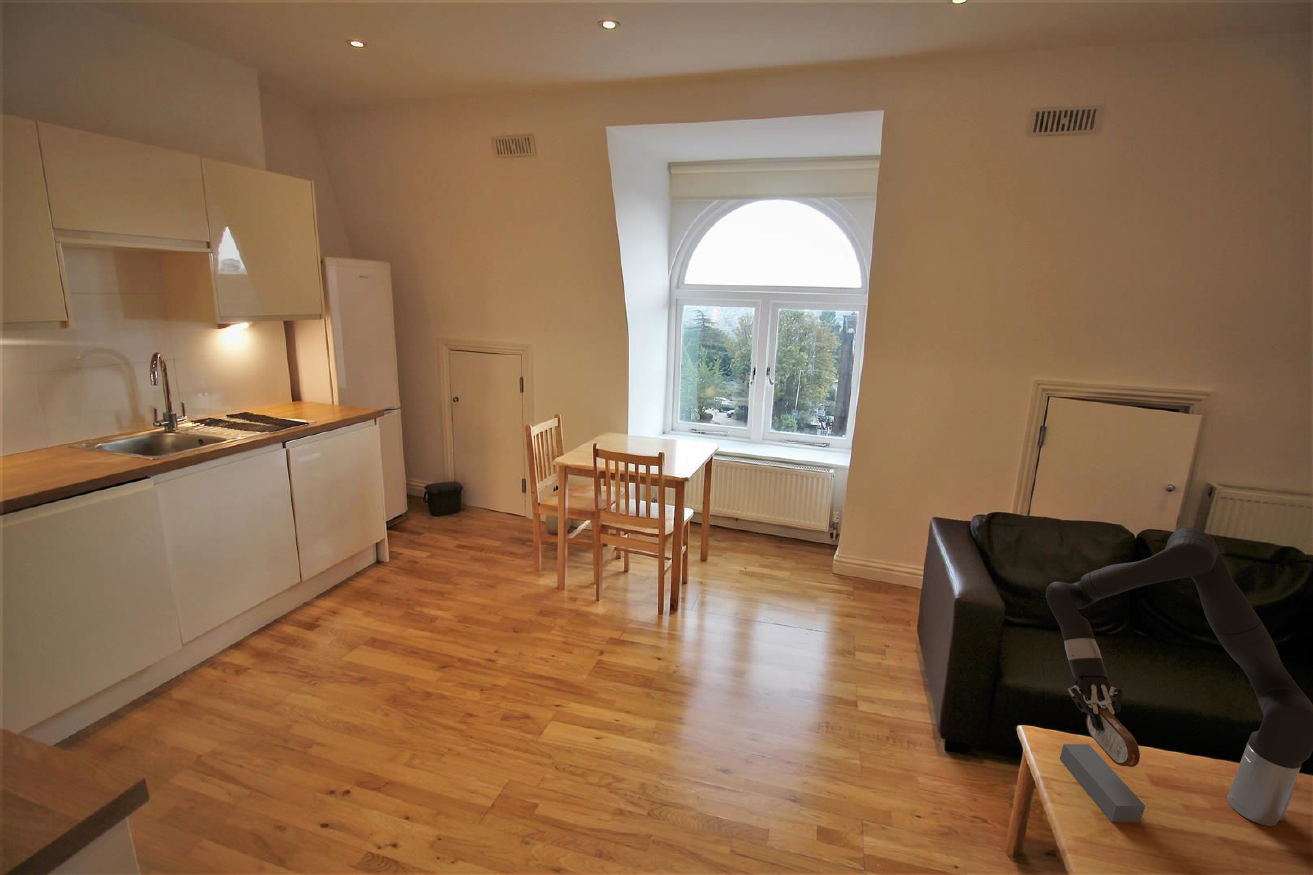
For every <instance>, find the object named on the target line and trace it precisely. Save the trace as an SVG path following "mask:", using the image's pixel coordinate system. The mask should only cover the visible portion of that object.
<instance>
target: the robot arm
mask: <svg viewBox="0 0 1313 875" xmlns="http://www.w3.org/2000/svg"><path fill="white" fill-rule="evenodd" d="M1186 578H1187V579H1188V578H1191V580H1192V581H1193V583H1194V585H1195V587H1196V590H1197V592H1198V596H1199V599H1200V602H1201V606H1202V609H1203V611H1204V615H1205V619H1206V620H1207V622H1208V624H1209V626H1210V628H1211V630H1212V631H1213V633H1214V635H1215V636H1216V638H1217V640H1218V641H1219V643H1220V644H1221V646H1222V647H1223V649H1224V650H1225V652H1227V654H1228V655H1229V656H1230V657H1231V658H1232V659H1233V661H1235V662H1236V664H1237V665H1239V667H1240V668H1241V669H1242V670H1243V672H1244V673H1245V675H1246V676H1247V679H1248V680H1249V683H1250V685H1251V686H1252V688H1253V691H1254V694H1255V695H1256V699H1257V700H1258V705H1259V708H1260V710H1261V712H1262V715H1263V719H1262V722H1261V724H1260V727H1259V729H1258V730H1255V731H1252V732H1251V734H1250V735H1249V738H1248V741H1247V743H1246V747H1245V749H1244V752H1243V754H1242V756H1241V760H1240V762H1239V765H1238V768H1237V770H1236V772H1235V776H1234V778H1233V781H1232V784H1231V787H1230V789H1229V792H1228V794H1227V799H1226V800H1227V802H1228V804H1229V806H1231V808H1232V809H1234V811H1236V813H1238V814H1240V815H1241V816H1242V817H1244V818H1246V819H1247V820H1249V821H1252V822H1253V823H1256V824H1258V825H1262V826H1267V827H1274V826H1276V825H1278V823H1279V821H1283V819H1284V817H1285V815H1286V812H1287V809H1288V807H1289V805H1290V802H1291V800H1292V797H1293V795H1294V792H1295V789H1294V784H1295V782H1296V780H1297V777H1298V775H1299V772H1300V770H1301V768H1302V765H1303V763H1304V762H1306V761H1307V760H1308V759H1309V758H1310V757H1311V755H1312V753H1313V703H1312V701H1311V700H1310V699H1309V697H1308V696H1307V695H1306V694H1305V692H1304V691H1303V690H1302V689H1301V688H1300V686H1299V685H1298V684H1297V683H1296V681H1295V680H1294V678H1292V676H1291V674H1289V672H1288V671H1287V669H1286V668H1285V665H1284V664H1283V662H1282V660H1281V657H1280V655H1279V651H1278V649H1277V647H1276V645H1275V643H1274V641H1273V639H1272V637H1271V635H1270V633H1269V631H1268V630H1267V628H1266V626H1265V625H1264V623H1263V621H1262V620H1261V619H1260V617H1259V615H1258V614H1257V612H1256V611H1255V609H1254V608H1253V607H1252V605H1251V603H1250V601H1249V600H1248V599H1247V597H1246V596H1245V594H1244V593H1243V592H1242V590H1241V589H1240V587H1239V586H1238V584H1237V582H1236V581H1235V580H1234V578H1233V576H1232V575H1231V573H1230V570H1229V569H1228V566H1227V564H1226V562H1225V560H1224V558H1223V555H1222V554H1221V552H1220V549H1219V547H1218V544H1217V543H1216V541H1215V539H1214V538H1212V536H1210V535H1209V534H1208V533H1206V531H1205V532H1204V531H1203V530H1201V529H1198V528H1195V527H1182V528H1178V529H1177V530H1175V531H1174V532H1173V533H1172V534H1170V536H1169V538H1168V539H1167V543H1166V544H1165V548H1164V549H1163V550H1161V551H1160V552H1157V553H1156V554H1153V555H1152V556H1150V557H1147V558H1144V559H1141V560H1137V561H1134V562H1133V561H1132V562H1123V563H1116V564H1110V565H1106V566H1104V567H1100V568H1098V569H1096V570H1093V571H1091V572H1088V573H1084V574H1083V575H1082V576H1081V578H1080V580H1079V581H1076V582H1074V583H1069V582H1064V581H1053V582H1051V583H1049V584H1048V585H1047V587H1046V589H1045V598H1046V601H1047V605H1048V606H1049V607H1048V608H1050V610H1051V612H1052V614H1053V616H1054V618H1055V619H1056V622H1057V623H1058V625H1059V627H1060V631H1061V636H1062V639H1063V642H1064V649H1065V652H1066V657H1067V660H1068V664H1069V666H1070V667H1069V668H1070V670H1071V674H1072V677H1073V678H1074V685H1073V686H1072V687H1069V688H1066V692H1067V694H1068V695H1069V696H1070V698H1071V699H1072V701H1073V702H1074V703H1075V705H1076V707H1077V708H1078V710H1079V711H1080V712H1084V713H1086V714H1089V716H1090V719H1091V722H1092V726H1093V728H1095V730H1096V731H1103V730H1104V728H1103V725H1102V721H1101V718H1100V715H1099V714H1098V709H1099V708H1098V706H1100V708H1104V709H1107V710H1108V711H1110V712H1111V713H1112V714H1113V715H1114V716H1115V714H1116V713H1119V712H1121V710H1122V703H1123V702H1122V700H1123V691H1124V690H1123V689H1122V688H1117V687H1114V686H1112V685H1111V683H1110V681H1108V677H1107V676H1108V674H1107V669H1106V667H1105V663H1104V661H1103V658H1102V654H1101V650H1100V648H1099V646H1098V643H1097V641H1096V639H1095V634H1094V632H1093V628H1092V626H1091V624H1090V621H1089V620H1088V619H1087V618H1086V617H1084V616H1083V615H1081V613H1080V611H1079V610H1081V609H1084V608H1087V607H1089V606H1092V605H1093V604H1094V603H1096V602H1098V601H1100V600H1102V599H1105V598H1109V597H1112V596H1115V595H1119V594H1121V593H1124V592H1127V591H1130V590H1134V589H1137V588H1140V587H1144V586H1149V585H1153V584H1158V583H1163V582H1168V581H1174V580H1181V579H1186Z"/></svg>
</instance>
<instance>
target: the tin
mask: <svg viewBox="0 0 1313 875" xmlns="http://www.w3.org/2000/svg"><path fill="white" fill-rule="evenodd" d="M1098 714H1099V715H1100V718H1101V721H1102V725H1103V728H1104V730H1103V731H1096V730H1095V728H1093V726H1092V722H1091V719H1090V716H1089V714H1088V713H1086V721H1085V722H1086V727H1087V730H1088V733H1089V735H1090V736H1091V738H1092V739H1093V740H1094V741H1095V742H1096V743H1097V744H1098V746H1099V747H1100V748H1101V749H1102V751H1103V752H1104V753H1105V754H1106V755H1107V756H1108V758H1109V759H1110V760H1111V761H1112V762H1113V763H1115V764H1116V765H1118V766H1120V767H1128V768H1134V767H1136V766H1137V765H1139V762H1140V759H1141V752H1140V748H1139V745H1138V742H1137V740H1136V738H1135V737H1134V736H1133V735H1132V733H1131V732H1130V731H1129V730H1128V729H1127V728H1126V727H1125V726H1124V725H1123V724H1122V723H1121V722H1120V721H1119V720H1118V718H1116V716H1115V714H1114V715H1113V714H1112V713H1111V712H1110V711H1108V710H1107V709H1104V708H1101V707H1100V708H1098Z"/></svg>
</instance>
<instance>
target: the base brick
mask: <svg viewBox="0 0 1313 875" xmlns="http://www.w3.org/2000/svg"><path fill="white" fill-rule="evenodd" d="M1059 761H1061V763H1062V764H1063V766H1064V767H1066V769H1067V770H1068V771H1069V773H1070V774H1071V775H1072V776H1073V777H1074V778H1075V780H1076V781H1077V782H1078V784H1079V785H1080V786H1081V788H1083V789H1084V791H1085V792H1086V793H1087V794H1088V795H1089V797H1090V798H1091V800H1093V802H1094V803H1095V804H1096V805H1097V806H1098V808H1099V809H1100V810H1101V811H1102V813H1103V814H1104V815H1105V816H1106V817H1107V819H1108V820H1109V822H1111V823H1140V822H1141V821H1142V818H1143V814H1144V811H1145V808H1146V804H1144V803H1143V802H1142V801H1141V799H1140V798H1139V797H1138V796H1137V795H1136V794H1135V793H1134V791H1132V789H1130V787H1129V786H1128V785H1127V784H1126V783H1125V781H1123V780H1122V779H1121V777H1119V775H1118V774H1117V773H1116V772H1115V770H1113V769H1112V767H1111V766H1110V765H1109V764H1108V763H1107V762H1106V761H1105V759H1103V757H1102V756H1101V755H1100V754H1099V753H1098V752H1097V751H1096V750H1095V749H1094V747H1092V746H1091V744H1090V743H1089V744H1088V743H1063V745H1062V748H1061V752H1060V756H1059Z"/></svg>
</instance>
